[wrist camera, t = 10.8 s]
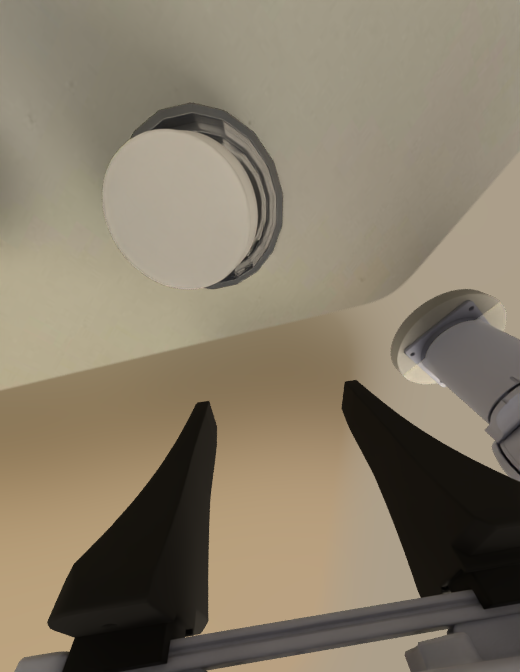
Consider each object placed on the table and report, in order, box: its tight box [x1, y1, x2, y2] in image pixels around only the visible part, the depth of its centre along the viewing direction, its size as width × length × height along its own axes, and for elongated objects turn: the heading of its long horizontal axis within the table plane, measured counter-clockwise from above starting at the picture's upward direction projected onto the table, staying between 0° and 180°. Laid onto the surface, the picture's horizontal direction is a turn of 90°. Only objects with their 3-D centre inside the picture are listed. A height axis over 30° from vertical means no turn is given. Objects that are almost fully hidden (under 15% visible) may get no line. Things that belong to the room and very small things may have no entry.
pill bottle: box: [102, 129, 258, 290], centre depth 12 cm, size 6×6×10 cm
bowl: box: [131, 103, 283, 289], centre depth 15 cm, size 9×9×4 cm
